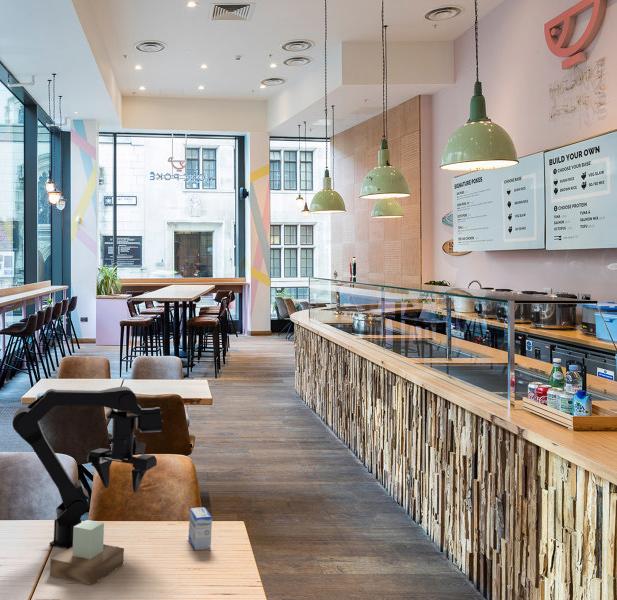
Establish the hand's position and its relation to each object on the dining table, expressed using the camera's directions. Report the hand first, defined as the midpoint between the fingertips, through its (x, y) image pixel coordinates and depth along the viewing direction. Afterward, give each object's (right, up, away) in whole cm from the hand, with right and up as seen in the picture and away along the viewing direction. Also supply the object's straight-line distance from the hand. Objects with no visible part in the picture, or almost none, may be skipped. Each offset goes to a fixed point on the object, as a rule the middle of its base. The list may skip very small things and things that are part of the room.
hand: (120, 490), depth 174 cm
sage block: (-2, -9, -20) cm, 22 cm away
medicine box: (+22, -14, -2) cm, 26 cm away
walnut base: (-2, -13, -20) cm, 24 cm away
